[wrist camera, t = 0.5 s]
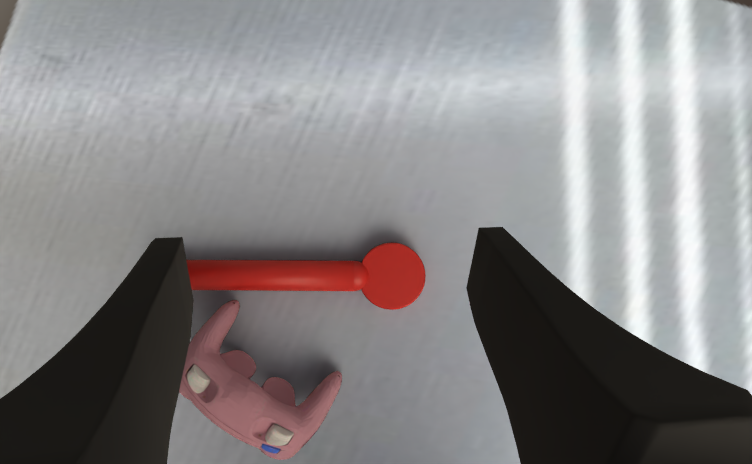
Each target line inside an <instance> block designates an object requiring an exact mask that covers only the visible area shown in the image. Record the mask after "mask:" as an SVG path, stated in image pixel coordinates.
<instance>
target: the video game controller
mask: <svg viewBox="0 0 752 464" xmlns="http://www.w3.org/2000/svg"><path fill="white" fill-rule="evenodd" d="M239 307H240V305H239V302H238V301H237V300H232V301H229V302H227V303H226V304H224V305H223V306H222V307H220V308H219V309H218V310H217V311H216V312H215V313H214V314H213V316H212V317H211V318H210V319H209V320H208V321H207V322H206V323H205V324H204V325H203V326H202V327H201V329H200V330H199V331H198V332H197V333H196V335H195V336H194V338H193V339H192V341H191V342H190V344H189V347H188V352H187V357H186V361H185V366H184V370H183V375H182V380H181V384H180V389H179V392H180V393H181V394H182V395H183V396H184V397H186V398H187V399H189V400H191V401H192V403H193V404H194V405H195V406H196V407H197V408H198V409H199V410H200V411H201V412H202V413H203V414H204V415H205V416H206V417H207V418H209V419H210V420H211V421H212V422H213V423H215V424H216V425H217V426H219V427H220V428H221V429H223V430H224V431H226V432H227V433H229V434H231V435H232V436H234V437H235V438H237V439H239V440H241V441H243V442H245V443H247V444H249V445H252V446H254V447H257V448H259V449H260V450H261V451H262V452H263V453H264V454H266V455H267V456H269V457H271V458H274V459H278V460H285V459H289V458H291V457H293V456H294V455H295V454H296V453H297V452H298V451H299V450H300V449H301V448H302V447H303V446H304V445H305V444H306V443H307V442H308V441H309V439H310V438H311V437H312V436H313V435H314V434H315V432H316V431H317V430H318V428H319V427H320V425H321V424H322V422H323V421H324V419H325V417H326V415H327V413H328V411H329V409H330V407H331V405H332V403H333V401H334V400H335V398H336V396H337V394H338V391H339V389H340V386H341V382H342V374H341V373H340V372H339V371H335V372H333V373H331V374H330V375H328V376H327V377H326V378H325V379H324V380H323V381H322V382H321V383H320V384H319V385H318V386H317V387H316V388H315V390H314V391H313V392H312V393H311V394H310V395H309V396H308V397H307V399H306V400H305V401H304V402H302V403H301V404H300V405H298V406H296V405H295V393H294V389H293V387H292V386H291V385H290V384H289V383H288V382H287V381H285V380H284V379H281V378H278V377H271V378H269V379H267V380H266V382H265V383H264V384H263V386H262V387H260V386H259V385H257V384H256V383H255V382H253V381H251V380H250V378H251V377H252V376H253V374H254V373H255V371H256V364H255V362H254V361H253V359H252V358H251V357H250V356H249V355H248V354H247V353H245V352H243V351H240V350H233V351H229V352H226V353H222V354H220V348H221V345H222V342H223V340H224V338H225V336H226V334H227V333H228V331H229V329H230V328H231V326H232V324H233V322H234V320H235V318H236V316H237V314H238V311H239Z"/></svg>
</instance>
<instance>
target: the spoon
mask: <svg viewBox="0 0 752 464" xmlns="http://www.w3.org/2000/svg"><path fill="white" fill-rule="evenodd" d="M186 261H187V266H188V272H189V277H190V283H191V289H192V290H268V291H358V290H362V292H363V293H364V295H365V296H366V298H367V299H368V300H369V301H370V302H372V303H373V304H374V305H376V306H378V307H381V308H384V309H391V310H392V309H400V308H403V307H406V306H408V305H410V304H411V303H412V302H414V301H415V300H416V299H417V298H418V296H419V295H420V293H421V292H422V290H423V287H424V283H425V269H424V265H423V263H422V261H421V259H420V257H419V256H418V255H417V254H416V253H415V252H414V251H413V250H412V249H410V248H409V247H407V246H405V245H403V244H400V243H393V242H391V243H383V244H380V245H378V246H376V247H374V248H373V249H371V250H370V251H369V252H368V253H367V254H366V256H365V257H364V259H363V261H362V263H361V262H359V261H315V260H186Z"/></svg>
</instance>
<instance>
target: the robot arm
mask: <svg viewBox="0 0 752 464" xmlns="http://www.w3.org/2000/svg"><path fill="white" fill-rule="evenodd" d="M467 292H468V297H469V301H470V306H471V310H472V314H473V318H474V322H475V325H476V328H477V331H478V333H479V336H480V339H481V341H482V344H483V347H484V349H485V352H486V355H487V357H488V360H489V362H490V365H491V368H492V370H493V373H494V375H495V378H496V381H497V383H498V386H499V388H500V391H501V394H502V396H503V399H504V402H505V405H506V408H507V411H508V415H509V419H510V423H511V426H512V430H513V434H514V438H515V442H516V445H517V449H518V454H519V458H520V462H521V464H752V395H751V394H750V393H749V391H748V390H746V389H743V388H741V387H738V386H736V385H734V384H731V383H729V382H726V381H724V380H722V379H719V378H717V377H714V376H712V375H710V374H707V373H705V372H703V371H700V370H698V369H696V368H694V367H692V366H690V365H688V364H686V363H684V362H682V361H680V360H678V359H676V358H674V357H672V356H670V355H668V354H666V353H664V352H662V351H661V350H659V349H657V348H655V347H653V346H652V345H650V344H648V343H647V342H645V341H643V340H641V339H640V338H638V337H636V336H635V335H633V334H631V333H630V332H628V331H626V330H625V329H623V328H622V327H620V326H619V325H617V324H616V323H614V322H613V321H611V320H610V319H609V318H607V317H606V316H604V315H603V314H601V313H600V312H598V311H597V310H596V309H594V308H593V307H592V306H590V305H589V304H588V303H586V302H585V301H584V300H583V299H581V298H580V297H579V296H578V295H576V294H575V293H574V292H573V291H571V290H570V289H569V288H568V287H567V286H565V285H564V284H563V283H562V282H561V281H560V280H558V279H557V278H556V277H555V276H554V275H553V274H552V273H551V272H549V271H548V270H547V269H546V268H545V267H544V266H543V265H542V264H541V263H540V262H539V261H538V260H536V259H535V258H534V257H533V256H532V255H531V254H530V253H529V252H528V251H527V250H526V249H525V248H524V247H523V246H522V245H521V244H520V243H519V242H518V241H517V240H516V239H515V238H514V237H512V236H511V235H510V234H509V233H508V232H507V231H506V230H505V229H504V228H503V227H490V228H479V230H478V235H477V240H476V244H475V249H474V254H473V259H472V264H471V269H470V274H469V278H468V283H467ZM193 301H194V300H193V294H192V289H191V283H190V277H189V272H188V266H187V261H186V255H185V249H184V244H183V238H182V237H177V238H155V239H154V240H153V241H152V242H151V243H150V245H149V246H148V248H147V249H146V251H145V252H144V253H143V255H142V256H141V258H140V259H139V260H138V262H137V263H136V265H135V266H134V267H133V269H132V270H131V271H130V273H129V274H128V275H127V277H126V278H125V279H124V281H123V282H122V283H121V284H120V286H119V287H118V288H117V289H116V291H115V292H114V293H113V294H112V296H111V297H110V298H109V299H108V300H107V302H106V303H105V304H104V305H103V306H102V307H101V308H100V310H99V311H98V312H97V313H96V314H95V315H94V316H93V317H92V318H91V320H90V321H89V322H88V323H87V324H86V325H85V326H84V327H83V328H82V329H81V330H80V331H79V332H78V333H77V335H76V336H75V337H74V338H73V339H72V340H71V341H69V342H68V343H67V344H66V345H65V346H64V347H63V348H62V349H61V350H60V351H59V352H58V353H57V354H56V355H55V356H54V357H52V358H51V359H50V360H49V361H48V362H47V363H45V364H44V365H43V366H42V367H41V368H40V369H38V370H37V371H36V372H35V373H33V374H32V375H31V376H30V377H28V378H27V379H26V380H25V381H24V382H22V383H21V384H20V385H19V386H17V387H16V388H15V389H13V390H12V391H11V392H9V393H8V394H7V395H5V396H4V397H2V398H1V399H0V464H167V457H168V448H169V439H170V433H171V427H172V421H173V416H174V411H175V407H176V402H177V398H178V393H179V389H180V384H181V380H182V375H183V370H184V366H185V361H186V357H187V352H188V347H189V342H190V337H191V326H192V314H193Z"/></svg>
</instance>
